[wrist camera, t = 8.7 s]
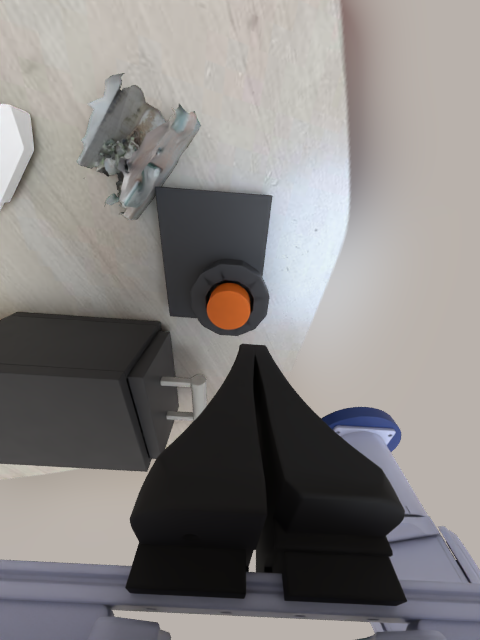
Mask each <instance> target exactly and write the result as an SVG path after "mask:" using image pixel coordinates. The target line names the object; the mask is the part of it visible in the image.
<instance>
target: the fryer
mask: <svg viewBox="0 0 480 640" xmlns="http://www.w3.org/2000/svg"><path fill="white" fill-rule="evenodd" d="M158 331H161V324H160V322H158V321H143V320H128V319H113V318H98V317H83V316H68V315H53V314H38V313H23V312H16V313H14V314H12V315H10V316H8V317H6V318H4V319H2V320H0V464H18V465H36V466H54V467H72V468H91V469H109V470H127V471H145V472H147V470H148V468H149V465H150V462H151V458H150V456H149V452H148V449H147V445H146V442H145V438H144V436H142V433H141V429H140V426H139V423H138V419H137V416H136V412H135V409H134V405H133V402H132V398H131V395H130V391H129V388H128V384H127V381H126V379H127V376H128V375H129V373H130V372H131V370H132V369H133V367H134V366H135V365H136V363H137V362H138V360H139V359H140V357H141V356H142V354H143V353H144V351H145V350H146V348H147V347H148V345H149V344H150V343H151V341H152V340H153V338H154V337H155V335H156V334H157V332H158Z"/></svg>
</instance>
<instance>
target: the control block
mask: <svg viewBox="0 0 480 640" xmlns="http://www.w3.org/2000/svg"><path fill="white" fill-rule="evenodd" d="M155 192H156V201H157V210H158V218H159V227H160V235H161V244H162V252H163V261H164V269H165V278H166V287H167V295H168V304H169V312H170V316H176V317H191V318H198V320H199V321H200V323H201V324H202V325H203V326H204V327H206V328H208V329H210V330H211V331H213V332H215V333H217V334H219V335H231V336H239V335H241V334H244V333H246V332H249V331H251V330H254V329H255V328H256V327H257V326H258V325H259V323H260V322H261V321H262V320H263V319H264V317H265V316H266V314H267V309H268V303H269V293H268V290H267V287H266V285H265V282H264V280H263V278H262V275H263V267H264V258H265V250H266V242H267V234H268V226H269V218H270V210H271V202H272V196H270V195H257V194H244V193H232V192H219V191H206V190H193V189H180V188H167V187H155ZM224 283H235V284H238V285H240V286H241V287H243V288H244V289H245V290H246V291H247V293H248V295H249V298H250V316H249V318H248V320H247V322H246V323H245V324H244V325H242V326H241V327H239V328H236V329H232V330H227V329H222V328H219V327H217V326H216V325H214V324H213V323H212V322H211V320H210V319H209V317H208V315H207V304H208V301H209V299H210V296H211V293H212V291H213V290H214V289H215V288H216V287H217V286H219V285H221V284H224Z"/></svg>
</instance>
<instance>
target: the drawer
mask: <svg viewBox="0 0 480 640" xmlns="http://www.w3.org/2000/svg"><path fill="white" fill-rule="evenodd" d="M126 381H127V384H128V388H129V391H130V395H131V398H132V402H133V405H134V409H135V412H136V416H137V419H138V423H139V426H140V429H141V433H142V436H144V438H145V442H146V445H147V449H148V452H149V456H150V458H151V459H157V457H158V456H159V455H160V454H161V453H162V452H163V451H164V450H165V447H166V444H167V441H168V438H169V435H170V432H171V429H172V426H173V423H174V420H188V421H193V420H195V419H196V418H197V417H198V416H199V415H200V414H201V413H202V411H203V410H204V409H205V408H206V406H207V387H206V377H205V376H204V375H201V374H197V375H195V376H193V377H192V379H191V378H177V377H175V371H174V363H173V354H172V346H171V338H170V332H163V331H158V332H157V334H156V335H155V337H154V338H153V340H152V341H151V343H150V344H149V345H148V347H147V348H146V350H145V351H144V353H143V354H142V356H141V357H140V359H139V360H138V362H137V363H136V365H135V366H134V367H133V369H132V370H131V372H130V373H129V375H128V376H127V379H126ZM176 386H178V387H191V388H192V402H193V413H192V412H177V411H178V407H179V403H178V395H177V387H176Z"/></svg>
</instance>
